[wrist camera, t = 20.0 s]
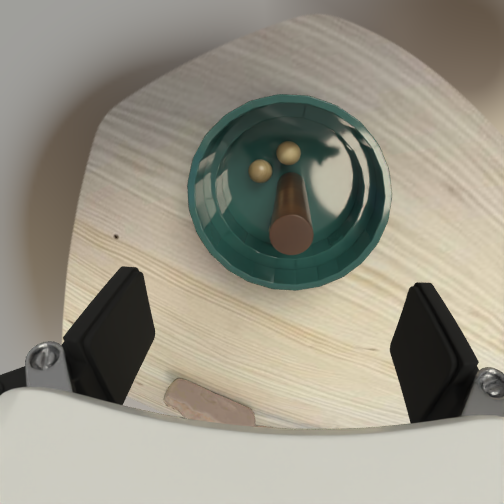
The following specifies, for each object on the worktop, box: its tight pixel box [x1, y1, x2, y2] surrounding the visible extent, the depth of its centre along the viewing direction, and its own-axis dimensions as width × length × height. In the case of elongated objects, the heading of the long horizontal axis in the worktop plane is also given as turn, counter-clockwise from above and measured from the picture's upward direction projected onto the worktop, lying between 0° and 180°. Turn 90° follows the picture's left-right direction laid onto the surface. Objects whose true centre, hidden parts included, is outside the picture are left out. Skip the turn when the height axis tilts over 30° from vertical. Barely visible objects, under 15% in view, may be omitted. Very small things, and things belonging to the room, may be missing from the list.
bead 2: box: [276, 141, 301, 165], centre depth 24 cm, size 2×2×2 cm
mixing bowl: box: [187, 94, 392, 291], centre depth 24 cm, size 15×15×6 cm
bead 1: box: [248, 159, 272, 183], centre depth 25 cm, size 2×2×2 cm
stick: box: [269, 172, 314, 255], centre depth 21 cm, size 2×2×11 cm
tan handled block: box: [164, 378, 273, 428], centre depth 41 cm, size 8×4×30 cm
